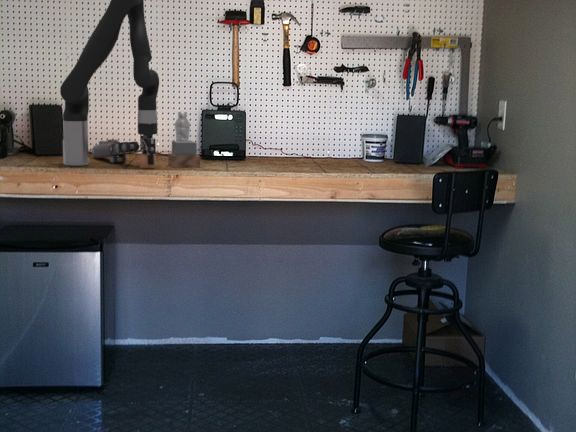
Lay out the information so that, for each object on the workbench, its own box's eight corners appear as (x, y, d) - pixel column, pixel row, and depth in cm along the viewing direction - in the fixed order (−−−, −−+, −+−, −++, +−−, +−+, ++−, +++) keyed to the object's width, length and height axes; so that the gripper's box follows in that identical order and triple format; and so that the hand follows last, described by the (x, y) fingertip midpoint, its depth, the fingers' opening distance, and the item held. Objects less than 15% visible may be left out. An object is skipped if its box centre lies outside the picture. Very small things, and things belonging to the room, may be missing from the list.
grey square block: (176, 155, 298) (176, 142, 297) (171, 153, 305) (171, 141, 304) (196, 155, 301) (196, 142, 300) (191, 153, 308) (191, 140, 307)
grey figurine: (182, 160, 322) (182, 112, 318) (171, 158, 326) (171, 111, 322) (193, 159, 327) (193, 112, 323) (182, 157, 331) (182, 111, 327)
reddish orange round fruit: (141, 168, 293) (141, 155, 292) (138, 166, 299) (137, 153, 298) (157, 168, 296) (156, 155, 295) (153, 166, 301) (153, 153, 300)
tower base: (175, 168, 297) (175, 156, 296) (168, 165, 306) (168, 153, 305) (199, 168, 301) (199, 155, 300) (192, 165, 310) (192, 152, 309)
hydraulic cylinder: (126, 161, 294) (124, 135, 293) (87, 166, 323) (85, 142, 322) (143, 160, 298) (141, 135, 298) (103, 165, 327) (101, 142, 327)
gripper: (133, 120, 299) (134, 161, 302) (142, 123, 286) (143, 166, 289) (152, 120, 302) (152, 161, 305) (161, 123, 289) (162, 165, 292)
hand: (148, 163), depth 297 cm, fingers open, 8 cm apart
